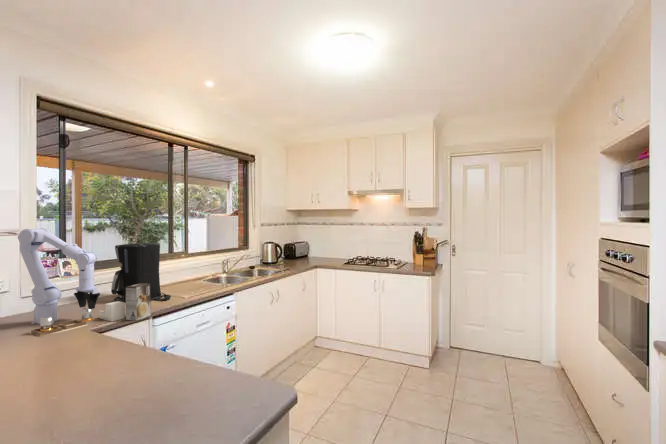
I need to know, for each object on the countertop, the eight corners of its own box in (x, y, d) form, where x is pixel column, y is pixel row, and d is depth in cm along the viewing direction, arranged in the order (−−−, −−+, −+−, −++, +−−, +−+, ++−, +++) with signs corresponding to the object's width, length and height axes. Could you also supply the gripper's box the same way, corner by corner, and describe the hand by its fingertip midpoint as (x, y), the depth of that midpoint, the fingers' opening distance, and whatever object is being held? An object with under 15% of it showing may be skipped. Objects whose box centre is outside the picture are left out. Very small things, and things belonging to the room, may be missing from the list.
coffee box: (140, 315, 167) (139, 282, 167) (151, 315, 166) (151, 283, 166) (125, 320, 158) (125, 286, 158) (137, 321, 157) (136, 287, 157)
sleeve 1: (38, 332, 138) (38, 318, 138) (50, 329, 142) (50, 315, 142) (43, 334, 137) (43, 319, 137) (55, 331, 140) (55, 316, 140)
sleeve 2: (79, 322, 154) (79, 309, 154) (89, 319, 158) (89, 307, 158) (84, 323, 153) (84, 310, 153) (94, 320, 156) (94, 308, 156)
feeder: (98, 319, 160) (97, 302, 160) (111, 316, 165) (111, 299, 165) (111, 322, 155) (111, 305, 155) (124, 319, 160) (124, 302, 160)
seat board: (28, 335, 138) (28, 329, 138) (75, 323, 153) (75, 318, 153) (41, 339, 133) (41, 333, 133) (88, 327, 148) (88, 322, 148)
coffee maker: (124, 295, 211) (123, 242, 211) (178, 293, 216) (178, 241, 216) (105, 304, 189) (105, 244, 189) (166, 301, 194) (166, 243, 194)
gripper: (104, 278, 155) (105, 307, 156) (87, 276, 162) (88, 304, 162) (87, 280, 149) (88, 311, 149) (70, 278, 156) (71, 307, 156)
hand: (87, 307), depth 155 cm, fingers open, 7 cm apart
